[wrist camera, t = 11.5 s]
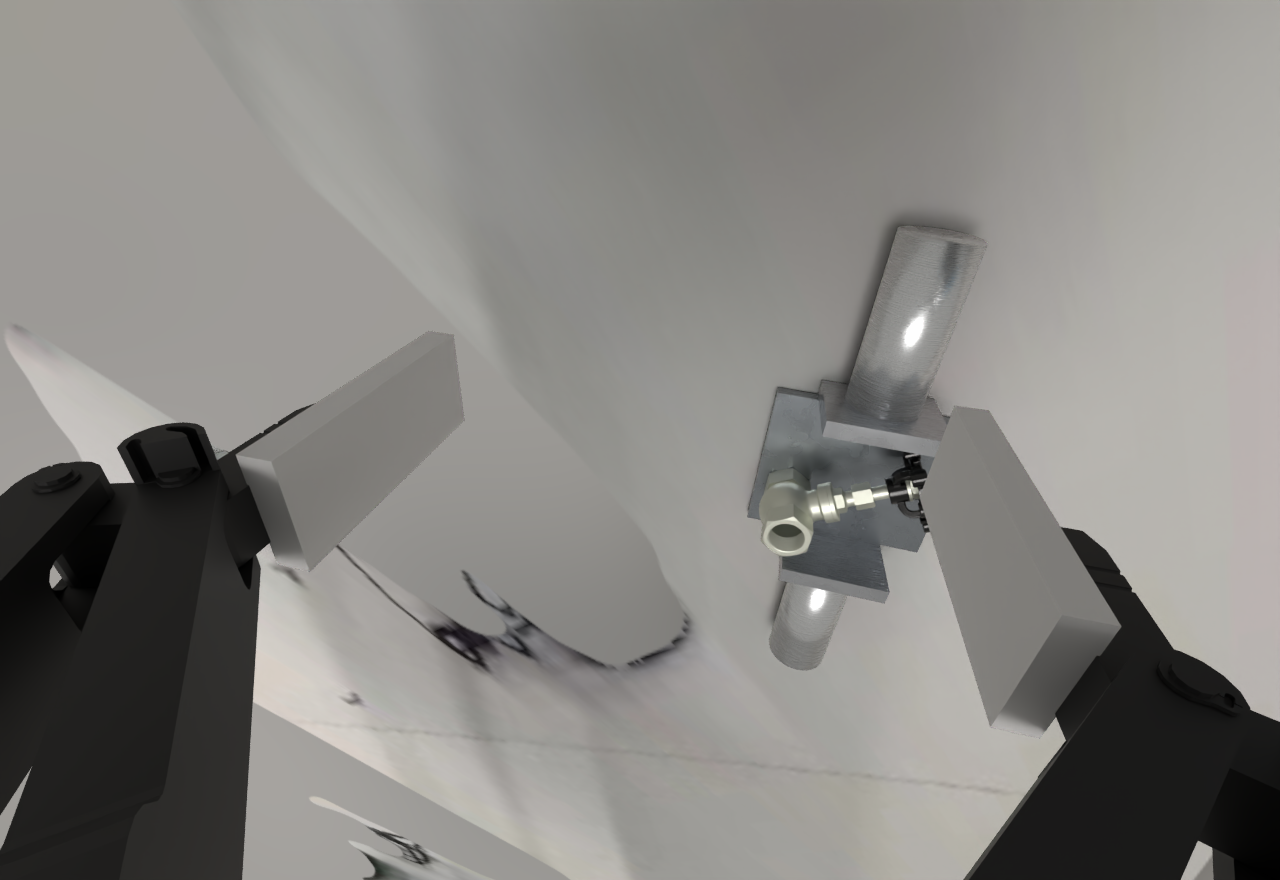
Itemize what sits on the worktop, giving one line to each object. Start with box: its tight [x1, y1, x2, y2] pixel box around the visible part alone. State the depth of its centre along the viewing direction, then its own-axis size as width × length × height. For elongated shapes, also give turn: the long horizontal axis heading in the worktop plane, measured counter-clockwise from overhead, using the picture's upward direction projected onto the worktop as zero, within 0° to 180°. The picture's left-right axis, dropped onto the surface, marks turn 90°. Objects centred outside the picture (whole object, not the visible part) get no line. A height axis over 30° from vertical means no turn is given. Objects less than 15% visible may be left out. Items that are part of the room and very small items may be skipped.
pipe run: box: [748, 226, 988, 670], centre depth 43 cm, size 37×14×6 cm, turn 175°
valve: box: [759, 451, 930, 556], centre depth 42 cm, size 7×7×12 cm
